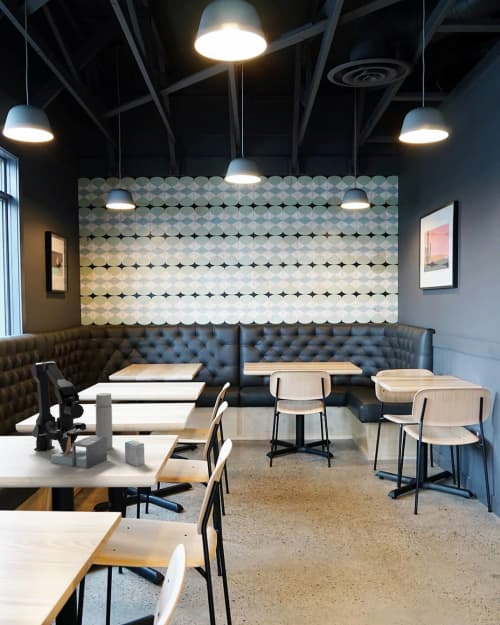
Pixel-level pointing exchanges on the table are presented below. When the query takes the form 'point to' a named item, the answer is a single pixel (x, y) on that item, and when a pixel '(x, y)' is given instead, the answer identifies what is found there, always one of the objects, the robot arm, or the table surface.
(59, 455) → the socket plate
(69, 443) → the peg
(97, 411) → the water bottle
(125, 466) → the table surface
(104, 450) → the grey open-top bin
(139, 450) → the medicine box
